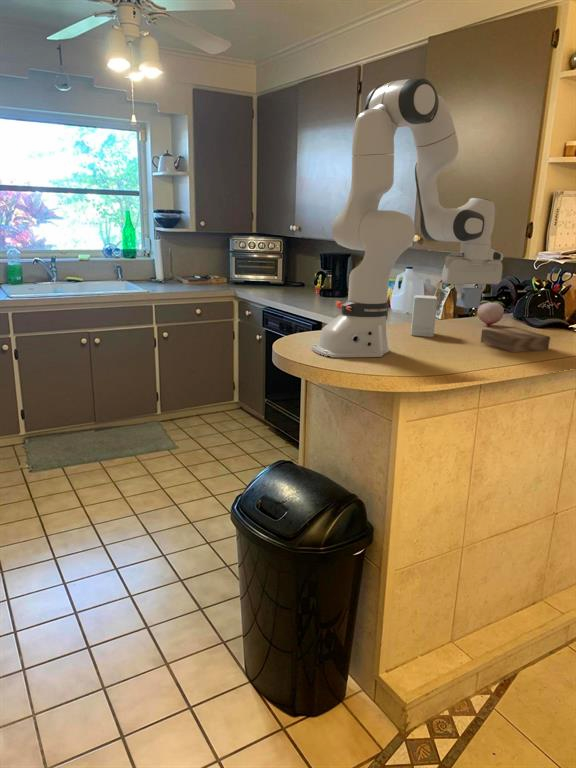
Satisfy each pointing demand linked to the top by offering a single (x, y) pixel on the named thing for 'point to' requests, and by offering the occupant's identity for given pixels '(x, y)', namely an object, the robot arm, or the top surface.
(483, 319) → the decorative fruit
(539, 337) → the walnut base
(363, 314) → the robot arm
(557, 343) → the top surface
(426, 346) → the top surface
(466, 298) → the slate block
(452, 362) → the top surface
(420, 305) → the supplement box
